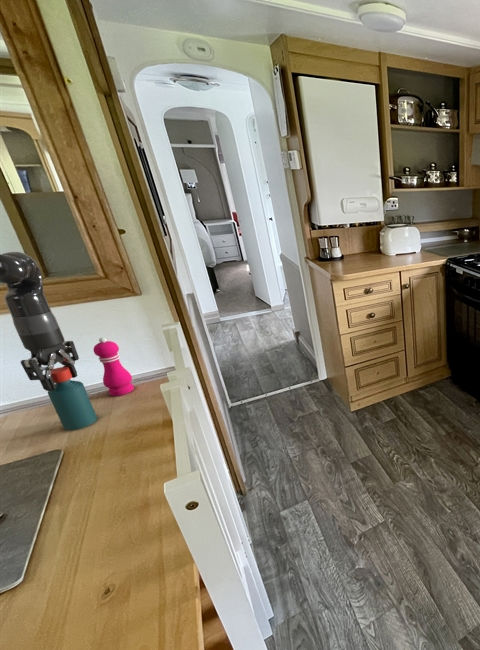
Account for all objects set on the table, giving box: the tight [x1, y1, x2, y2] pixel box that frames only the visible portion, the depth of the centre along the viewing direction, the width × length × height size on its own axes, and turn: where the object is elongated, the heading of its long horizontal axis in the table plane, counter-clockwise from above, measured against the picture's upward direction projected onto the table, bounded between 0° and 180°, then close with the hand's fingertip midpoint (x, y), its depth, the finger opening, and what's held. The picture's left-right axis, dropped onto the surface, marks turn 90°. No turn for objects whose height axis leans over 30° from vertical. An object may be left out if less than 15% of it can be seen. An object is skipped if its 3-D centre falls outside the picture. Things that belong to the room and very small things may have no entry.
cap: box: [51, 366, 73, 383], centre depth 106 cm, size 4×4×3 cm
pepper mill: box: [93, 337, 135, 397], centre depth 125 cm, size 7×7×20 cm
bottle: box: [47, 379, 98, 431], centre depth 109 cm, size 7×7×17 cm
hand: (62, 383), depth 106 cm, fingers open, 7 cm apart
